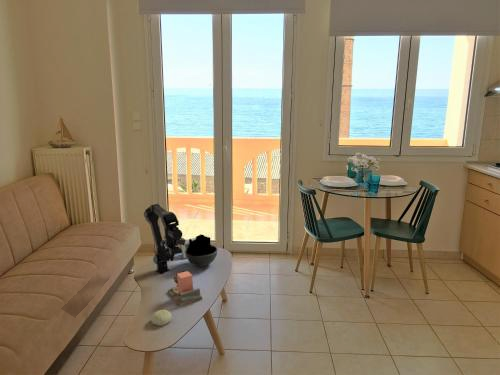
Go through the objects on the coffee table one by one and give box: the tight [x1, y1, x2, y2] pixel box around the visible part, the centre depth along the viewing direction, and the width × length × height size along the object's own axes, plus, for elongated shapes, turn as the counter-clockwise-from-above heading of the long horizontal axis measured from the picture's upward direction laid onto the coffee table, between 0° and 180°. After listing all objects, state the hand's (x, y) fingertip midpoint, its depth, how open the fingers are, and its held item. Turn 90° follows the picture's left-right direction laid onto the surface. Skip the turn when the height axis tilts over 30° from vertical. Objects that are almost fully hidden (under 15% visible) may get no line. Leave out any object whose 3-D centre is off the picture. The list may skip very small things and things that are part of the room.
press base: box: [167, 286, 203, 307], centre depth 201 cm, size 18×12×6 cm, turn 31°
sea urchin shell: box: [151, 309, 173, 326], centre depth 179 cm, size 9×8×8 cm
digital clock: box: [178, 236, 196, 259], centre depth 254 cm, size 16×9×11 cm, turn 121°
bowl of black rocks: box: [185, 234, 218, 268], centre depth 237 cm, size 20×20×19 cm
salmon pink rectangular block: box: [176, 270, 194, 294], centre depth 199 cm, size 6×6×11 cm
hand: (172, 260), depth 217 cm, fingers closed
